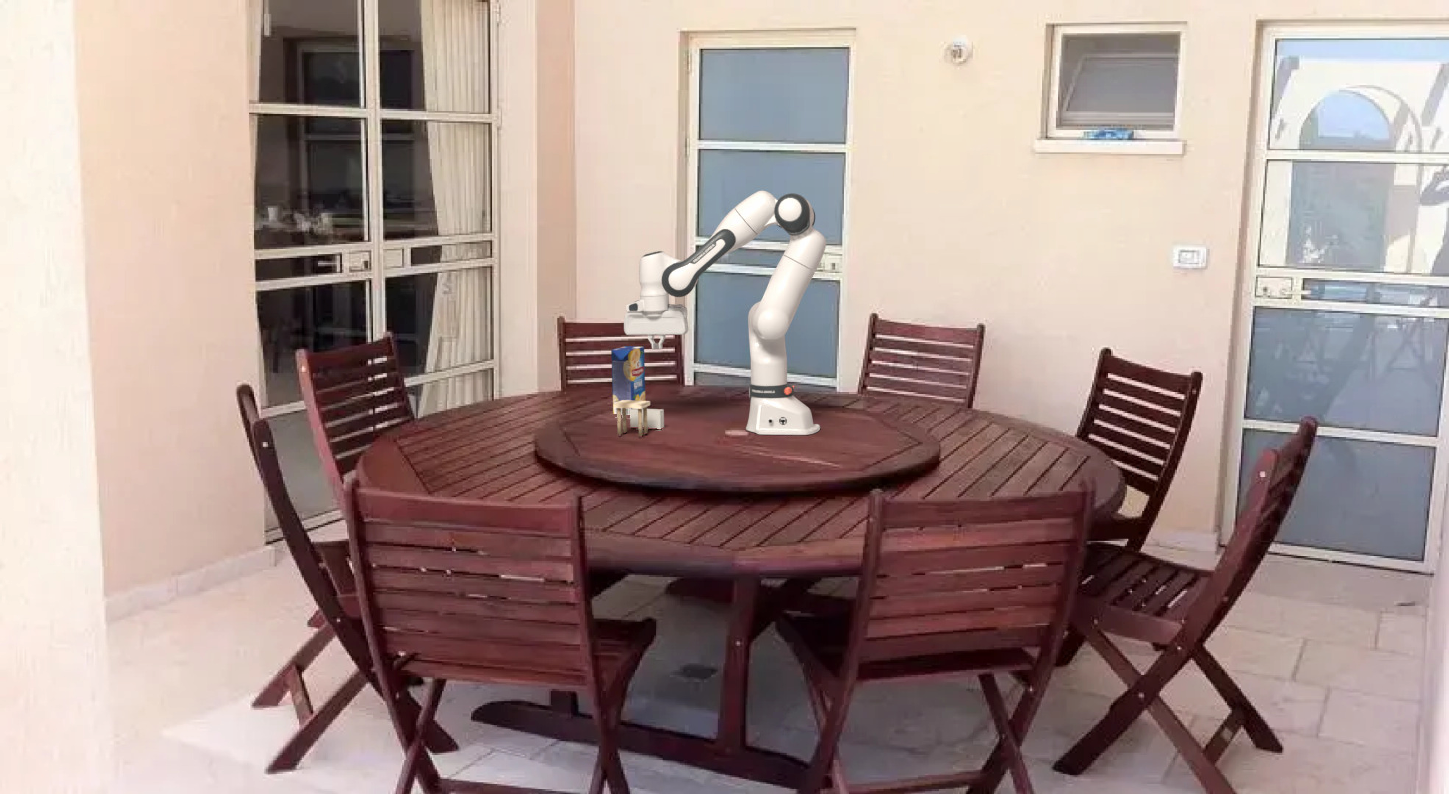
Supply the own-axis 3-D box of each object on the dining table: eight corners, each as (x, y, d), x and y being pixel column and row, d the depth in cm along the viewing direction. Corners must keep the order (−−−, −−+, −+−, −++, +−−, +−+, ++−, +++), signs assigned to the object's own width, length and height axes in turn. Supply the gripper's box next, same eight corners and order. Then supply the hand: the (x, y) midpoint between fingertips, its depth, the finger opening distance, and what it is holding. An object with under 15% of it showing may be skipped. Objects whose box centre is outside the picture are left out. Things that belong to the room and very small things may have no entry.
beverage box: (645, 412, 447) (644, 346, 443) (632, 418, 436) (630, 350, 433) (626, 411, 449) (625, 346, 445) (613, 417, 439) (611, 350, 435)
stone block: (664, 428, 417) (663, 409, 416) (660, 430, 414) (660, 411, 413) (634, 427, 420) (633, 408, 419) (630, 428, 417) (629, 409, 416)
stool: (650, 434, 408) (650, 401, 406) (642, 438, 402) (641, 404, 400) (623, 432, 411) (622, 400, 409) (614, 437, 404) (613, 403, 403)
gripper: (690, 303, 415) (692, 347, 417) (628, 304, 421) (630, 348, 424) (683, 305, 409) (685, 350, 411) (620, 306, 415) (623, 350, 418)
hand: (657, 349), depth 418 cm, fingers closed
